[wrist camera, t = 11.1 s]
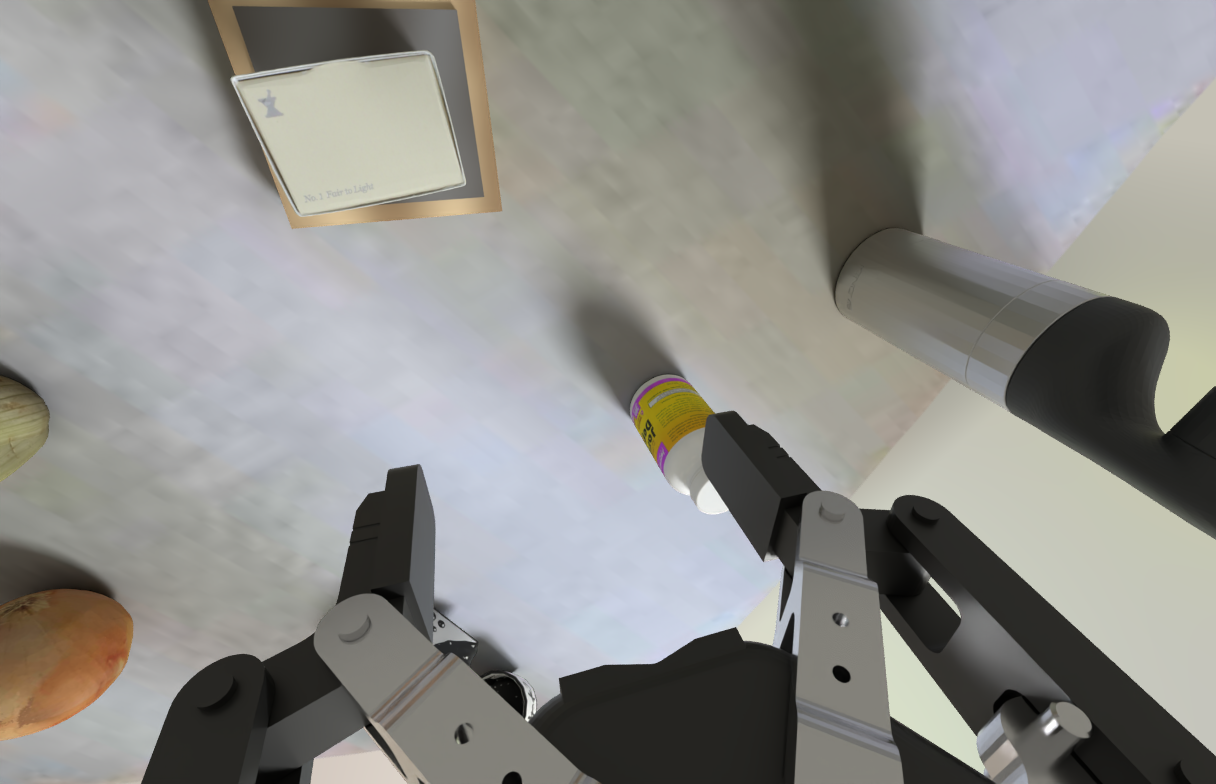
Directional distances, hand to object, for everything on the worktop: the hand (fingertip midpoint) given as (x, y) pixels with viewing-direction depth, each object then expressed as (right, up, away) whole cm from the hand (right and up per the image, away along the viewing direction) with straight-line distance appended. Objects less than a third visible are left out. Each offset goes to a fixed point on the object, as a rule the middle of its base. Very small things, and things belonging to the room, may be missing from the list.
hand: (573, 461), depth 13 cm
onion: (-43, -15, +26) cm, 52 cm away
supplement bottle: (+6, +1, +34) cm, 34 cm away
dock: (-12, +19, +15) cm, 27 cm away
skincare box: (-11, +17, +13) cm, 24 cm away
